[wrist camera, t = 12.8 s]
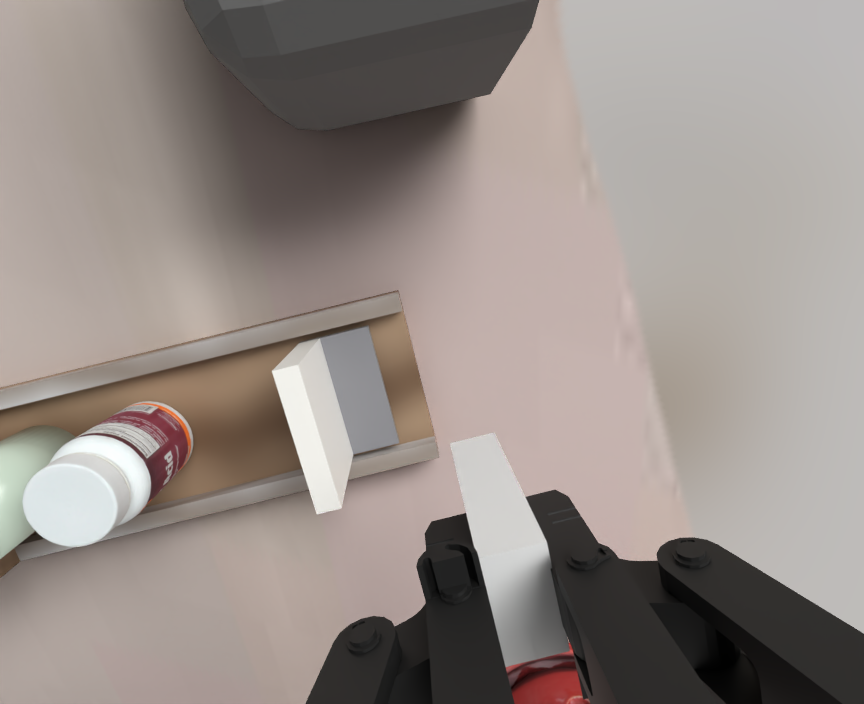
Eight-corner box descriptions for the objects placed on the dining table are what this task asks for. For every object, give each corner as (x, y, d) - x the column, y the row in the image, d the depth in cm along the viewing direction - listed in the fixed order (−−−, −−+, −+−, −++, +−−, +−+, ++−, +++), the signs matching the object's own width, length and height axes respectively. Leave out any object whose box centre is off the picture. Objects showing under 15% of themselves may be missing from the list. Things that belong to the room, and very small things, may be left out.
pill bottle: (172, 489, 32) (94, 574, 24) (98, 449, 32) (-8, 523, 23) (210, 425, 32) (144, 491, 24) (136, 383, 31) (41, 436, 23)
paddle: (300, 341, 31) (271, 371, 24) (368, 324, 31) (359, 349, 24) (334, 455, 32) (316, 514, 25) (399, 440, 32) (399, 494, 25)
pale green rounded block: (-11, 436, 31) (-127, 492, 24) (73, 416, 31) (-19, 465, 24) (23, 513, 32) (-79, 587, 25) (104, 493, 32) (25, 561, 25)
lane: (-49, 400, 32) (-173, 444, 25) (398, 290, 32) (397, 304, 25) (18, 548, 34) (-79, 627, 27) (437, 444, 34) (446, 496, 27)
